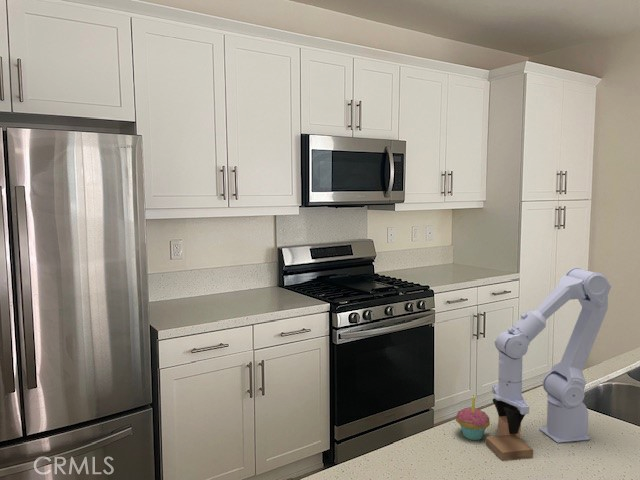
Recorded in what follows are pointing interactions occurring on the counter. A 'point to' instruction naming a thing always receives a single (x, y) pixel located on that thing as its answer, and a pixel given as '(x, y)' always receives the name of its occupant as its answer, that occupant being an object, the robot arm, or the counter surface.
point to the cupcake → (473, 421)
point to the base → (509, 447)
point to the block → (505, 427)
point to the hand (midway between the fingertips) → (509, 429)
